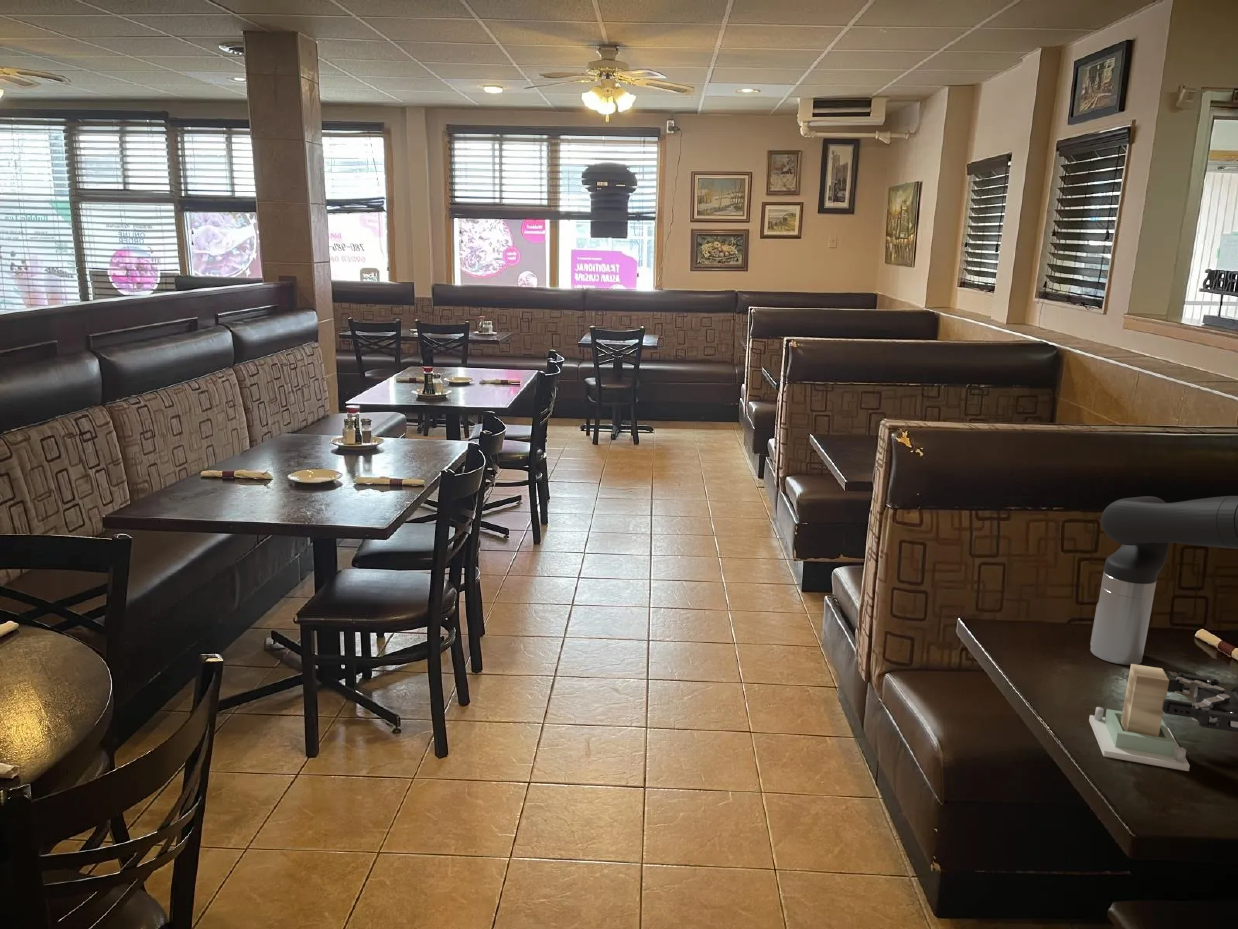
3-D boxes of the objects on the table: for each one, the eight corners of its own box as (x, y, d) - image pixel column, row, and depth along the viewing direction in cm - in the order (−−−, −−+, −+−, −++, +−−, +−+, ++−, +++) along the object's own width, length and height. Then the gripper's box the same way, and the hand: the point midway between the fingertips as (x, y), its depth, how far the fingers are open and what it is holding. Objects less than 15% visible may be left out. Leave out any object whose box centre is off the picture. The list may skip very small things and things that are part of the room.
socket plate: (1088, 720, 152) (1092, 701, 151) (1167, 733, 149) (1171, 714, 148) (1103, 756, 141) (1107, 736, 140) (1188, 771, 137) (1192, 751, 137)
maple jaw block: (1119, 729, 147) (1131, 663, 145) (1149, 734, 146) (1162, 668, 143) (1125, 743, 143) (1137, 675, 140) (1156, 748, 142) (1169, 680, 139)
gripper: (1261, 670, 143) (1149, 654, 148) (1297, 711, 130) (1172, 692, 135) (1252, 711, 145) (1141, 694, 150) (1286, 756, 132) (1164, 736, 136)
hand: (1156, 693), depth 142 cm, fingers open, 8 cm apart
